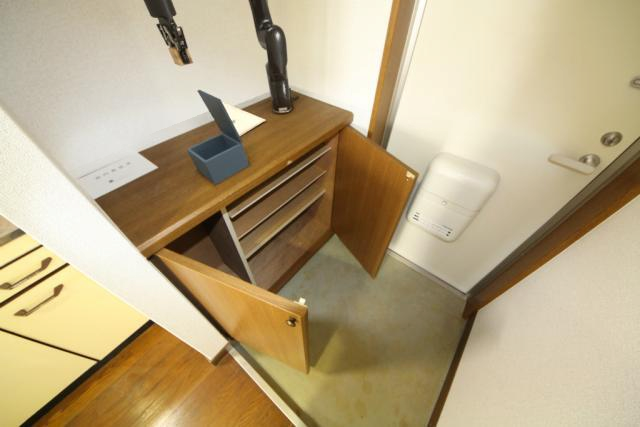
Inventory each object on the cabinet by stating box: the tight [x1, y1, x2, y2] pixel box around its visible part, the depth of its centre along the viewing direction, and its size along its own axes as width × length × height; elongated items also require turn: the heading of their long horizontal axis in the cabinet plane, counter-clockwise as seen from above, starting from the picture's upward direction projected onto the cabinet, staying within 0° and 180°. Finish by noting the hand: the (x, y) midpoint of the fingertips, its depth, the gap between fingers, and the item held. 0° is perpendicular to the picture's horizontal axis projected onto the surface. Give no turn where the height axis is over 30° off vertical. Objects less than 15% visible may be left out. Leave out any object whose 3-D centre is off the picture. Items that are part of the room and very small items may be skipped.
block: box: [167, 47, 194, 67], centre depth 77 cm, size 5×5×5 cm
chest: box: [185, 132, 250, 186], centre depth 77 cm, size 14×12×9 cm
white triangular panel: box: [222, 101, 267, 137], centre depth 97 cm, size 15×6×20 cm
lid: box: [197, 89, 243, 144], centre depth 70 cm, size 15×12×1 cm
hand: (183, 62), depth 78 cm, fingers closed on block, 4 cm apart
